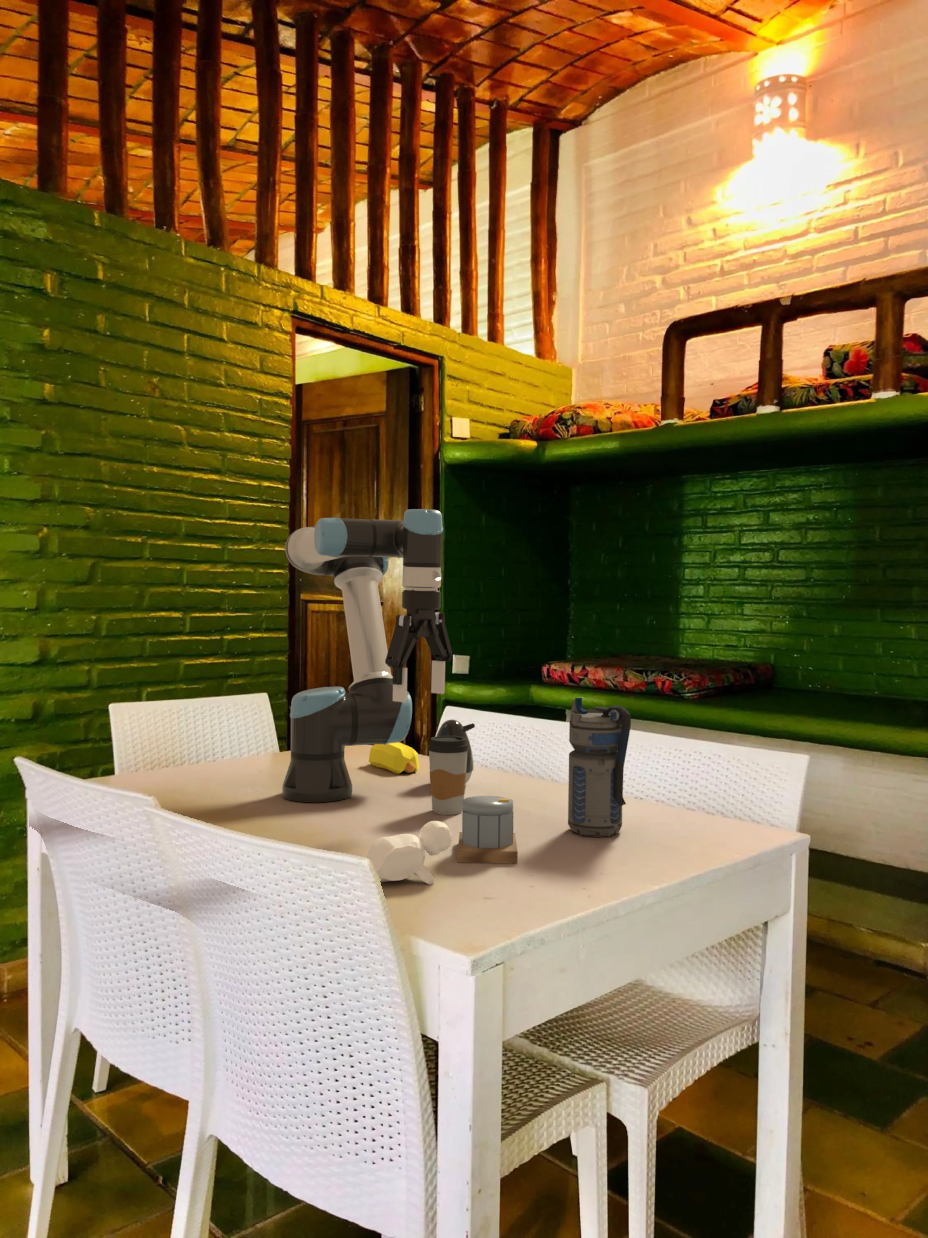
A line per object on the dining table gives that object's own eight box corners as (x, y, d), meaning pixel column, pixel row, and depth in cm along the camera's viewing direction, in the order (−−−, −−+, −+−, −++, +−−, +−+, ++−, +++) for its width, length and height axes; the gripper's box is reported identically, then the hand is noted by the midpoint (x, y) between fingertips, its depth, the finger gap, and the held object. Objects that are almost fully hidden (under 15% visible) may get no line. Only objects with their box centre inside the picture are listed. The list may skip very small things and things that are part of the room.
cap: (462, 848, 163) (463, 804, 163) (461, 834, 172) (461, 793, 172) (514, 848, 163) (515, 805, 163) (510, 834, 172) (511, 793, 172)
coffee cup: (474, 809, 200) (475, 737, 199) (457, 818, 192) (458, 743, 192) (438, 805, 203) (439, 734, 203) (420, 813, 196) (420, 739, 195)
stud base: (457, 862, 162) (458, 821, 161) (459, 843, 174) (459, 804, 173) (517, 863, 162) (517, 821, 161) (515, 844, 174) (515, 805, 173)
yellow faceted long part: (398, 777, 233) (425, 774, 237) (398, 749, 233) (426, 747, 237) (363, 765, 248) (389, 762, 252) (363, 739, 247) (389, 736, 252)
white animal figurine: (385, 910, 147) (469, 864, 152) (366, 861, 145) (451, 816, 151) (368, 893, 155) (448, 850, 160) (349, 846, 153) (431, 804, 159)
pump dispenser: (474, 790, 219) (474, 723, 218) (428, 789, 219) (428, 722, 218) (474, 780, 229) (475, 716, 228) (430, 780, 229) (431, 716, 228)
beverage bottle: (609, 844, 174) (611, 706, 173) (554, 830, 184) (555, 699, 183) (643, 834, 181) (645, 701, 180) (588, 821, 191) (590, 695, 190)
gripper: (401, 591, 175) (398, 707, 177) (470, 588, 197) (468, 691, 198) (367, 589, 179) (365, 703, 181) (439, 586, 201) (437, 688, 202)
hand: (419, 697), depth 190 cm, fingers open, 13 cm apart
